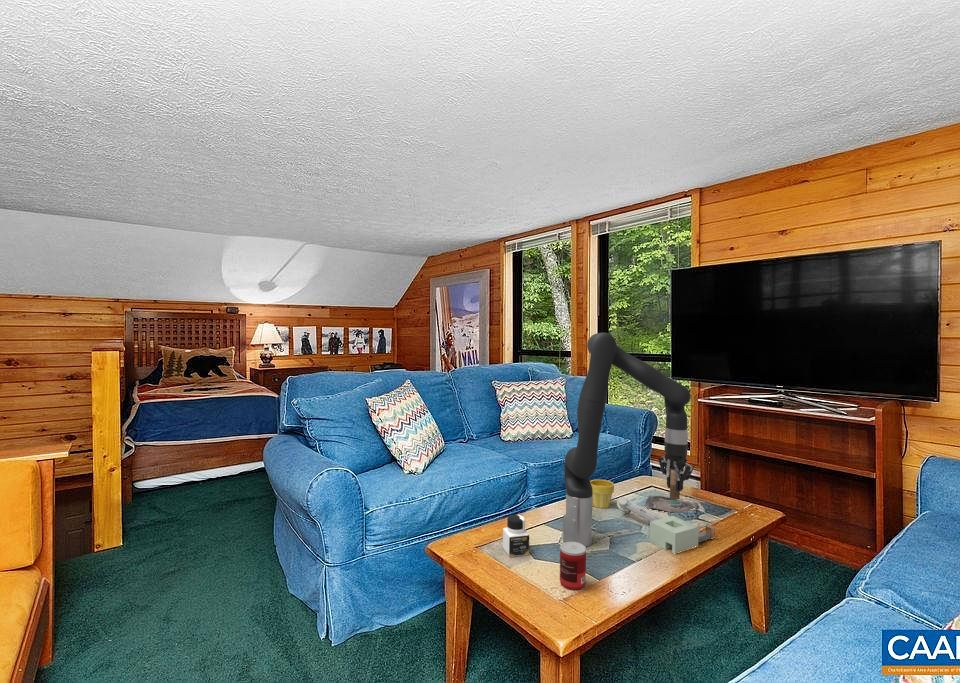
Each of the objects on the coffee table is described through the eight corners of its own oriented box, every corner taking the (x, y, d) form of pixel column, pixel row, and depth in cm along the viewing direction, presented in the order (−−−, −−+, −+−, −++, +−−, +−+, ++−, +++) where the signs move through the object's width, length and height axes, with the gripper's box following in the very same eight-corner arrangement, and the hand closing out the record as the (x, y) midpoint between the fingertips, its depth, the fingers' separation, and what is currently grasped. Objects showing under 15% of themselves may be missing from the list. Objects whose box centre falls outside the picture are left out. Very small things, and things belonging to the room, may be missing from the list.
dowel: (675, 500, 170) (676, 471, 169) (667, 497, 172) (668, 469, 172) (681, 498, 171) (682, 470, 171) (673, 495, 174) (674, 468, 174)
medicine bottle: (509, 557, 161) (509, 521, 160) (502, 547, 168) (503, 513, 167) (529, 555, 163) (529, 519, 162) (521, 545, 170) (522, 511, 169)
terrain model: (642, 510, 206) (643, 502, 206) (649, 499, 219) (649, 492, 219) (694, 519, 196) (695, 511, 196) (698, 507, 210) (698, 500, 209)
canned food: (581, 576, 149) (582, 541, 149) (588, 590, 141) (589, 553, 141) (557, 576, 149) (557, 541, 149) (562, 590, 141) (563, 553, 141)
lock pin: (691, 545, 171) (691, 534, 170) (685, 543, 173) (685, 532, 172) (714, 538, 177) (715, 527, 177) (709, 535, 179) (709, 525, 179)
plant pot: (600, 499, 216) (600, 477, 216) (618, 506, 207) (619, 484, 207) (583, 504, 210) (584, 481, 210) (602, 511, 202) (602, 488, 201)
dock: (674, 554, 165) (675, 533, 164) (649, 541, 174) (649, 521, 174) (698, 546, 170) (698, 526, 170) (672, 534, 180) (672, 515, 180)
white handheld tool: (670, 532, 178) (612, 500, 196) (673, 540, 182) (616, 509, 200) (677, 520, 180) (618, 490, 198) (680, 529, 184) (622, 498, 202)
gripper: (652, 437, 175) (651, 485, 176) (685, 446, 163) (684, 497, 164) (667, 435, 179) (665, 482, 180) (700, 444, 167) (699, 493, 167)
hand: (674, 489), depth 172 cm, fingers closed on dowel, 3 cm apart
